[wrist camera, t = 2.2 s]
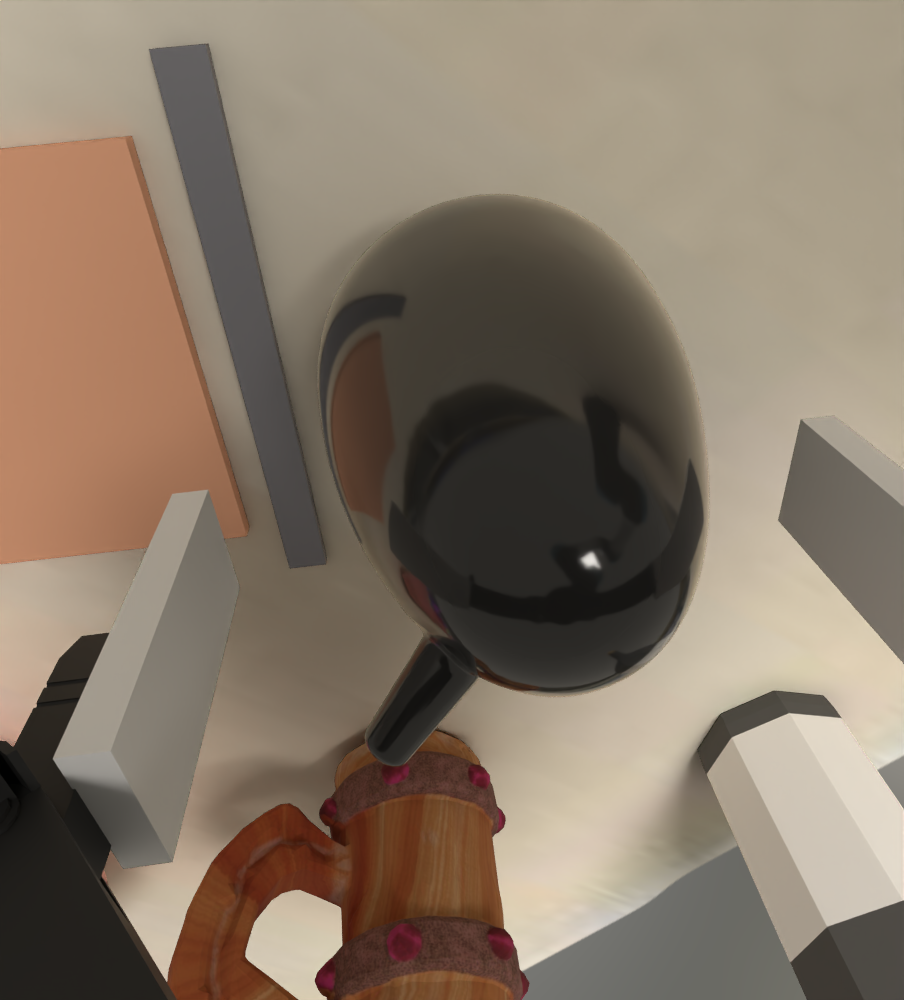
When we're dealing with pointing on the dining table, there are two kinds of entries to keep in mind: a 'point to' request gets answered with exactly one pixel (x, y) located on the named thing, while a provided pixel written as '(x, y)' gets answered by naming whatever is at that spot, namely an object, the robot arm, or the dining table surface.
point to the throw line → (239, 287)
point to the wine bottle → (815, 841)
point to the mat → (95, 361)
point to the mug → (368, 887)
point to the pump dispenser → (513, 454)
